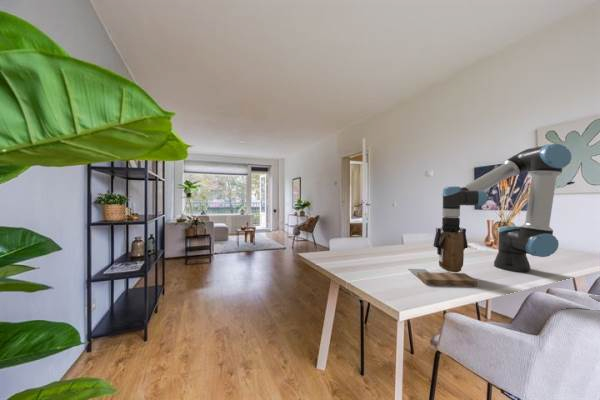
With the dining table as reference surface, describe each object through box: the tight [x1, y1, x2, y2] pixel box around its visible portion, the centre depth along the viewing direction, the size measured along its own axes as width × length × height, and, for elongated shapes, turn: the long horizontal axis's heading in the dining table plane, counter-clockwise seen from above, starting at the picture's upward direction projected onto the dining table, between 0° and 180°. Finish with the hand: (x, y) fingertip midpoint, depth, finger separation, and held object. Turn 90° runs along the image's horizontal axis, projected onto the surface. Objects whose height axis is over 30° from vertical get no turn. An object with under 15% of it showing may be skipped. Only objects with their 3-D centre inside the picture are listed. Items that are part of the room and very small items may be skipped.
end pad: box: [407, 268, 429, 278], centre depth 125 cm, size 9×12×1 cm
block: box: [438, 230, 465, 273], centre depth 124 cm, size 11×8×20 cm
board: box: [417, 271, 479, 287], centre depth 113 cm, size 22×10×3 cm, turn 86°
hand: (450, 261), depth 124 cm, fingers closed on block, 8 cm apart
